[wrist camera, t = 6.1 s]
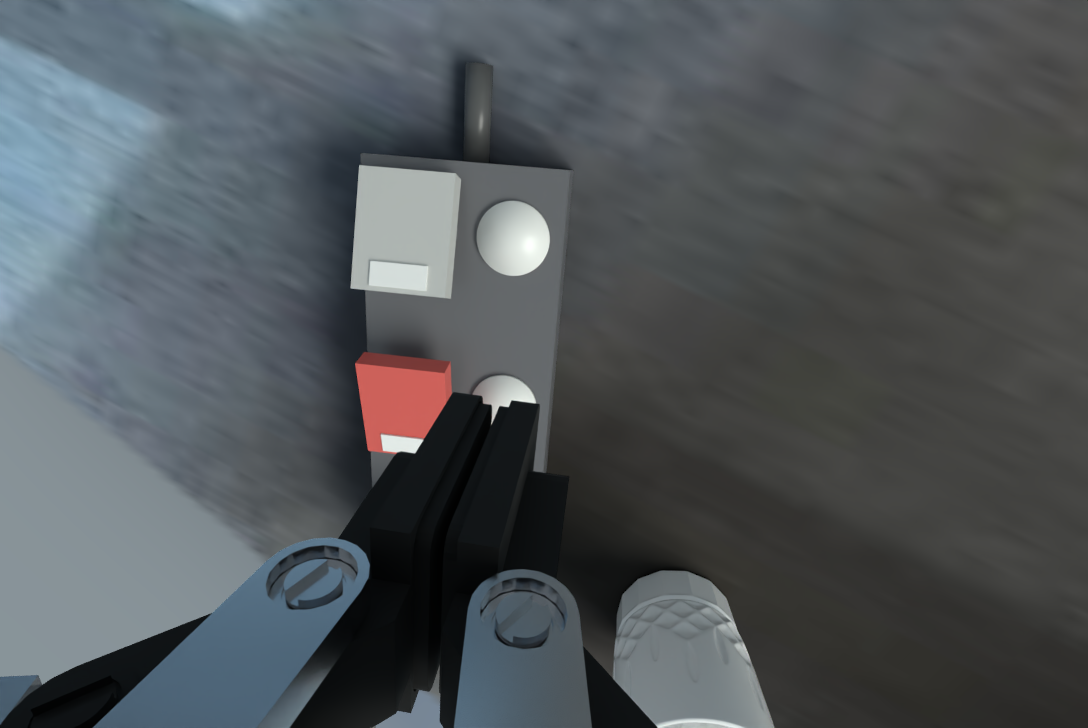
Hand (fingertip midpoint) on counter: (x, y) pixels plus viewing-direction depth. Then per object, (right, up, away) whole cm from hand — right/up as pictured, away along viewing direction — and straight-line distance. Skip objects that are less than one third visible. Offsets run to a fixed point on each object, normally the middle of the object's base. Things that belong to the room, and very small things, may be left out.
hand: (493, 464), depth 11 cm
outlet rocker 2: (-5, 0, +15) cm, 16 cm away
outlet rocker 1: (-5, +7, +12) cm, 15 cm away
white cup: (+9, -13, +23) cm, 28 cm away
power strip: (-3, +3, +18) cm, 19 cm away
